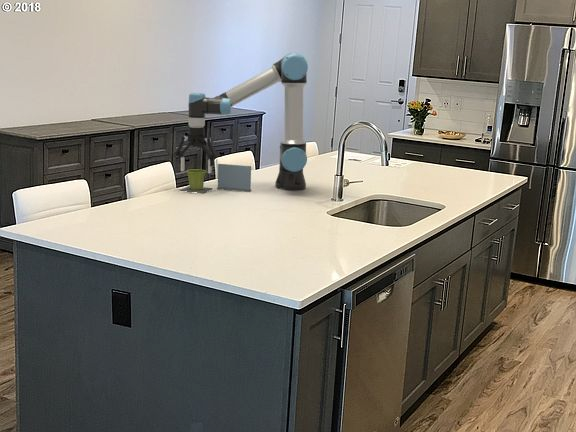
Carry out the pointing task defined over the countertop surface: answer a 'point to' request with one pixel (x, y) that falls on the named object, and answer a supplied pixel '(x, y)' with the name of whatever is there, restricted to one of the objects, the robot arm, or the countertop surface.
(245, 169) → the screen
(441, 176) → the countertop surface
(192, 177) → the plant pot
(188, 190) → the mat
